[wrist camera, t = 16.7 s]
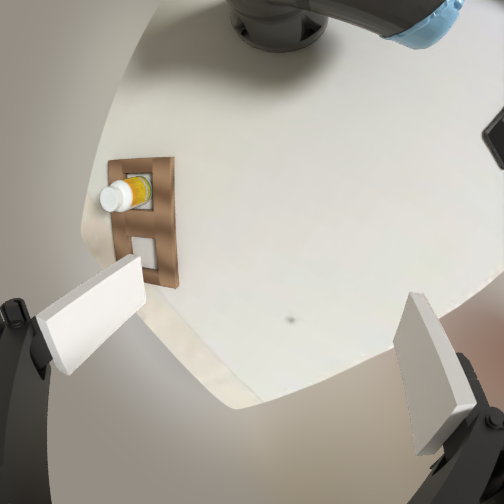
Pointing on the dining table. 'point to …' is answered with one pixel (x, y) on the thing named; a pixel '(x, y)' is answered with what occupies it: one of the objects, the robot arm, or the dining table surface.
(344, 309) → the dining table surface
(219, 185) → the dining table surface
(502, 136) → the phone
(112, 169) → the rail
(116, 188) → the supplement bottle
